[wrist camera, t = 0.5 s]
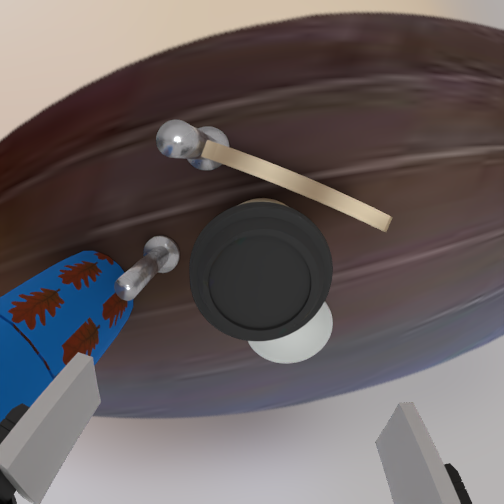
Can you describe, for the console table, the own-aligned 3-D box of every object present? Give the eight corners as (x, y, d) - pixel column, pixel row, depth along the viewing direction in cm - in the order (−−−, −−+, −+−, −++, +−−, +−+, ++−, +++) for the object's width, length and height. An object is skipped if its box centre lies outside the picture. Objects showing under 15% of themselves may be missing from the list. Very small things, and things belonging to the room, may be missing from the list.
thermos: (74, 232, 32) (-98, 326, 8) (147, 277, 33) (6, 444, 9) (56, 302, 34) (-67, 413, 10) (120, 344, 36) (22, 495, 12)
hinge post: (180, 162, 29) (132, 161, 18) (195, 121, 28) (155, 97, 16) (220, 176, 30) (194, 183, 18) (236, 135, 28) (220, 115, 17)
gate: (219, 159, 28) (201, 156, 19) (223, 147, 28) (207, 139, 19) (351, 212, 29) (385, 232, 20) (356, 201, 29) (392, 217, 20)
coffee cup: (322, 222, 31) (373, 271, 16) (270, 289, 33) (276, 379, 18) (250, 169, 29) (239, 172, 15) (200, 241, 31) (152, 304, 17)
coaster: (232, 346, 35) (232, 348, 34) (264, 273, 32) (264, 274, 32) (308, 370, 36) (309, 371, 35) (346, 303, 33) (347, 304, 33)
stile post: (141, 263, 32) (100, 300, 23) (150, 229, 31) (108, 257, 22) (174, 276, 33) (142, 319, 23) (184, 243, 32) (153, 276, 22)
